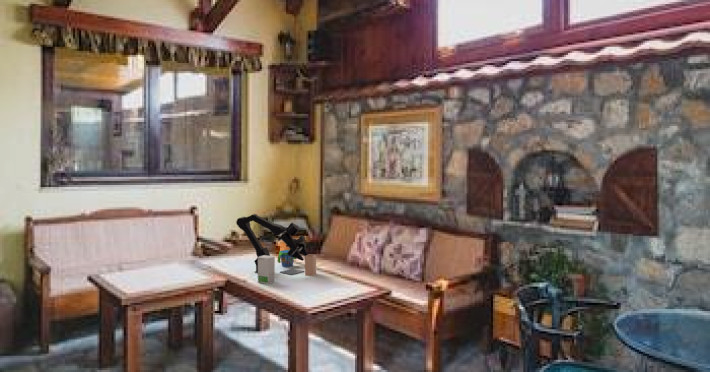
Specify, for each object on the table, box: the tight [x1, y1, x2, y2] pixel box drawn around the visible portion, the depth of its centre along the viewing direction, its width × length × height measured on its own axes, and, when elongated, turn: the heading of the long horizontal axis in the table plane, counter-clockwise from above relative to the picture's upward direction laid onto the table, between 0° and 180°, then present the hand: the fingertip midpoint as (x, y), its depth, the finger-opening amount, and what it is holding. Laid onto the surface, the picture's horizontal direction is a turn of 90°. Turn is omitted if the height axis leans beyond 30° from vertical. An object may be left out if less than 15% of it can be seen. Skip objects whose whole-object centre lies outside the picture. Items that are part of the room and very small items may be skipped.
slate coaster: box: [279, 268, 305, 276], centre depth 339 cm, size 11×11×1 cm
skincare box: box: [257, 255, 276, 285], centre depth 315 cm, size 8×7×16 cm
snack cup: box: [277, 249, 298, 268], centre depth 357 cm, size 16×10×10 cm
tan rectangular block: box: [304, 254, 317, 277], centre depth 331 cm, size 5×5×12 cm
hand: (306, 258), depth 332 cm, fingers open, 9 cm apart
